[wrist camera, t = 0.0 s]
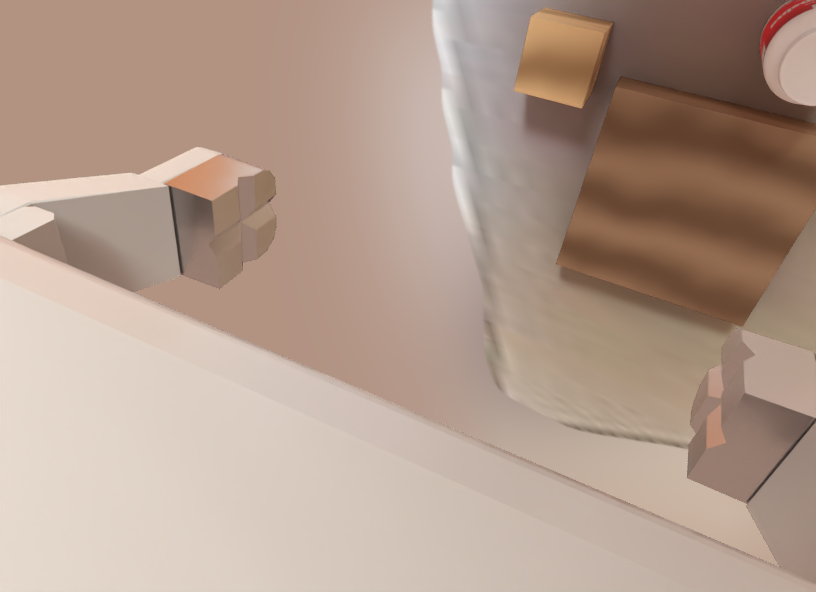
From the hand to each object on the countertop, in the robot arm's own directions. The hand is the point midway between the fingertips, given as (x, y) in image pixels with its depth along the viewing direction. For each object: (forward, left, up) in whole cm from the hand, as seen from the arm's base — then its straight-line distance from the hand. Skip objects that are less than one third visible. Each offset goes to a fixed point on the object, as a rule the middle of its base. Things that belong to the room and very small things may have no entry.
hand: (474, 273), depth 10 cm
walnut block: (+17, +8, -48) cm, 52 cm away
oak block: (+7, -6, -48) cm, 49 cm away
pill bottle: (+2, +11, -48) cm, 49 cm away
